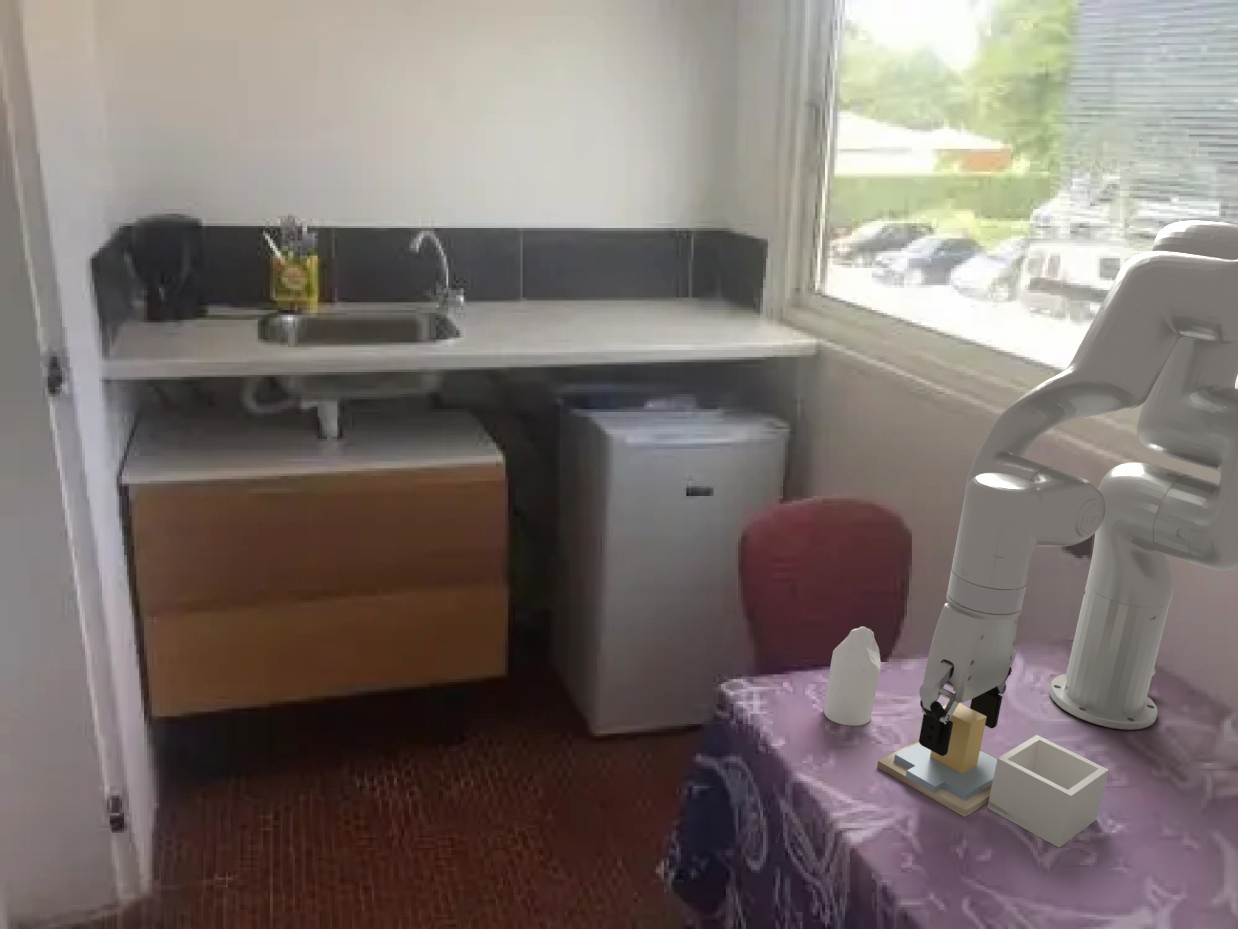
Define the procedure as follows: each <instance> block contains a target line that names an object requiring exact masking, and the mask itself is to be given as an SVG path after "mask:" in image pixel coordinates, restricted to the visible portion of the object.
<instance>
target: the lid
mask: <svg viewBox="0 0 1238 929" xmlns="http://www.w3.org/2000/svg"><path fill="white" fill-rule="evenodd" d="M946 705H947V704H944V705H942V707H943V708H944V709H945V707H946ZM986 718H987V716H985V715H983V714H981V713H978V712H976V711H974V710H972V709H970V707H968V706H966V705H965V704H963V703H959V704H958V706H957V708H956V710H955V711H954V713H953V715H952V717H951V718H950V721H952V722H953V727H952V732H951V737H950V742H949V748H948V753H947V754H946V755H944V756H941V755H939V754H937V753H935V752H933V751H931V750H929V749H928V748H926V747H924V746H922V745H920V743H919V742H918V743H916V744H914V745H912V746H910V747H908V748H906V749H904V750H902V751H900V752H898V753H896V754H895V757H894V761H896V762H897V763H899V764H901V765H903V766H904V767H906V768H908V769H909V770H907V773H906V777H907V778H909V779H910V780H912V781H914V782H916V783H917V784H919V785H921V786H922V787H924V788H926V789H928V790H929V791H931V792H933V793H936V792H937V791H939V790H941V789H945V790H947V791H949V792H950V793H952V794H954V795H956V796H957V797H959V798H961V799H963V800H964V801H966V800H967V799H969V798H971V797H973V796H974V795H976V794H978V793H979V792H981V791H983V790H984V789H986V788H988V787H989V786H991V785H992V783H993V778H994V773H995V768H996V763H997V759H995V758H994V757H995V756H994V757H992V756H993V755H992V756H990V755H991V754H990V755H988V754H989V753H988V754H986V753H987V752H986V753H984V752H985V751H984V752H982V751H983V750H982V751H980V750H981V747H982V742H983V737H984V732H985V727H986V726H985V723H986Z"/></svg>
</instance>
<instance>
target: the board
mask: <svg viewBox="0 0 1238 929" xmlns="http://www.w3.org/2000/svg"><path fill="white" fill-rule="evenodd" d="M918 742H919V739H917V740H915V741H914V742H911V743H909V744H908V745H905V746H904V747H902V748H900V749H898V750H896V751H894V752H892V753H890V754H888V755H886V756H884V757H883V758H881V759H879V760H878V761H877V765H876V767H877V768H878V769H880V770H881V771H883V772H885V773H887V774H888V775H890V776H892V777H893V778H896V779H897V780H899V781H901V782H902V783H904V784H906V785H907V786H910V787H911V788H912V789H915V790H916V791H918V792H920V793H922V794H923V795H926V796H927V797H929V798H931V799H932V800H934V801H936V802H937V803H939V804H941V805H943V806H944V807H946V808H948V809H949V810H951V811H953V812H955V813H956V814H958V815H961V816H962V817H963V818H966V817H967V816H969V815H971V814H973V813H974V812H975V811H977V810H978V809H980V808H982V807H983V806H985V805H986V804H988V802H989V797H990V792H991V788H992V785H991V786H989V787H988V788H986V789H984V790H983V791H981V792H979V793H978V794H976V795H974V796H973V797H971V798H969V799H967V800H966V801H964V800H963V799H961V798H959V797H957V796H956V795H954V794H952V793H950V792H949V791H947V790H945V789H941V790H939V791H937V792H936V793H933V792H931V791H929V790H928V789H926V788H924V787H922V786H921V785H919V784H917V783H916V782H914V781H912V780H910V779H909V778H907V777H906V773H907V770H909V769H908V768H906V767H904V766H903V765H901V764H899V763H897V762H896V761H894V757H895V754H896V753H898V752H900V751H902V750H904V749H906V748H908V747H910V746H912V745H914V744H916V743H918ZM980 751H982V752H984V753H986V754H988V755H990V756H992V757H994V758H995V759H998V758H999V757H996V756H993V755H992V754H990V753H987V752H986V751H984V750H982V749H980Z"/></svg>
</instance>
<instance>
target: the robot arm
mask: <svg viewBox="0 0 1238 929" xmlns="http://www.w3.org/2000/svg"><path fill="white" fill-rule="evenodd" d="M1077 348H1078V349H1077V351H1076V352H1075V354H1074V356H1073V358H1072V360H1071V362H1070V363H1069V365H1068V366H1066V368H1065V369H1064V370H1063V371H1061V372H1060V373H1058V374H1057V375H1054V376H1053V377H1050V378H1049V379H1047V380H1045V381H1043V382H1041V383H1040V384H1037V385H1036V386H1035V387H1033V388H1032V389H1030V390H1028V391H1027V392H1025V394H1022V395H1021V396H1020V398H1018V399H1017V400H1015V401H1014V402H1013V403H1011V404H1010V405H1008V407H1007V408H1006V409H1004V410H1003V411H1002V413H1000V415H999V416H998V417H997V418H996V420H995V421H994V422H993V424H992V426H991V428H990V429H989V430H988V432H987V434H986V436H985V439H984V441H983V442H982V444H981V446H980V448H979V449H978V451H977V452H976V455H975V457H974V459H973V461H972V464H971V467H970V468H969V471H968V474H967V478H966V481H965V493H964V497H963V503H962V510H961V515H960V519H959V526H958V530H957V537H956V543H955V548H954V553H953V559H952V565H951V570H950V575H949V580H948V587H947V592H946V601H947V602H946V603H944V605H943V607H942V610H941V613H940V615H939V616H938V617H939V618H938V620H937V623H936V627H935V630H934V633H933V637H932V641H931V644H930V648H929V653H928V657H927V660H926V664H925V665H926V666H925V669H924V670H925V671H924V675H923V683H922V684H921V685H920V687H919V690H918V691H919V697H920V700H919V701H920V703H919V705H920V707H921V713H923V716H922V721H921V727H920V733H919V736H918V737H919V739H918V740H919V743H920V745H922V746H924V747H926V748H928V749H929V750H931V751H933V752H935V753H937V754H939V755H941V756H944V755H946V754H947V753H948V748H949V742H950V737H951V732H952V727H953V722H952V721H950V718H951V717H952V715H953V713H954V711H955V710H956V708H957V706H958V704H959V703H960V704H962V703H964V702H965V703H966V702H968V701H970V707H969V708H970V709H972V710H974V711H976V712H978V713H981V714H983V715H985V716H987V718H986V723H985V727H987V728H989V729H994V728H997V726H998V720H999V715H1000V711H1001V707H1002V701H1003V697H1004V696H1003V695H1004V694H1005V693H1006V690H1007V684H1006V682H1007V681H1008V678H1009V676H1010V675H1011V674H1012V671H1013V670H1012V665H1013V663H1014V660H1015V659H1016V657H1017V654H1018V649H1017V648H1016V647H1015V644H1016V636H1017V628H1018V617H1019V616H1020V615H1021V613H1022V608H1023V603H1024V597H1025V594H1026V588H1027V585H1028V584H1027V583H1028V579H1029V573H1030V569H1031V565H1032V564H1031V563H1032V560H1033V555H1034V550H1035V548H1037V547H1069V546H1070V547H1071V546H1075V545H1078V544H1080V543H1082V542H1085V541H1086V540H1088V539H1090V538H1091V537H1092V536H1093V535H1094V541H1093V542H1094V543H1093V550H1092V556H1091V561H1090V564H1089V571H1088V576H1087V580H1086V584H1085V587H1084V588H1085V589H1084V592H1083V598H1082V602H1081V607H1080V612H1079V616H1078V620H1077V625H1076V630H1075V633H1074V638H1073V642H1072V648H1071V651H1070V655H1069V661H1068V664H1067V665H1068V666H1067V669H1066V673H1063V674H1060V675H1058V676H1056V677H1053V679H1052V680H1051V682H1050V686H1049V690H1048V691H1049V695H1050V697H1051V699H1052V700H1053V702H1055V703H1056V705H1057V706H1059V707H1060V708H1061V709H1063V711H1065V712H1067V713H1069V714H1070V715H1072V716H1074V717H1076V718H1078V719H1081V720H1083V721H1085V722H1089V723H1090V724H1094V725H1097V726H1100V727H1101V726H1102V727H1105V728H1110V729H1117V730H1129V731H1131V730H1142V729H1146V728H1148V727H1150V726H1152V725H1153V724H1154V723H1156V720H1157V717H1158V707H1157V705H1156V704H1155V703H1154V701H1153V700H1152V698H1150V697H1149V696H1148V693H1149V690H1150V685H1151V682H1152V677H1153V676H1154V675H1156V671H1157V670H1156V667H1155V665H1156V661H1157V658H1158V654H1159V649H1160V645H1161V642H1162V637H1163V633H1164V629H1165V625H1166V622H1167V616H1168V613H1169V609H1170V605H1171V602H1172V598H1173V593H1174V587H1175V585H1174V584H1175V583H1174V582H1175V580H1174V574H1173V569H1172V566H1171V563H1170V562H1171V561H1170V559H1169V557H1168V555H1169V556H1171V557H1174V558H1176V559H1179V560H1182V561H1185V562H1188V563H1191V564H1193V565H1196V566H1200V567H1203V568H1206V569H1210V570H1212V571H1218V572H1225V571H1227V572H1228V571H1232V570H1234V569H1236V568H1238V388H1236V381H1237V378H1238V224H1236V223H1229V222H1228V223H1227V222H1220V221H1208V220H1183V221H1178V222H1177V221H1176V222H1173V223H1170V224H1168V225H1166V226H1165V227H1164V228H1163V229H1161V230H1160V231H1159V232H1158V234H1157V235H1156V237H1155V240H1154V243H1153V246H1152V251H1146V252H1145V251H1144V252H1141V253H1139V254H1136V255H1134V256H1132V257H1131V258H1130V259H1128V260H1127V261H1126V262H1125V263H1124V264H1123V266H1121V268H1120V270H1119V271H1118V273H1117V275H1116V276H1115V278H1114V280H1113V283H1112V284H1111V286H1110V288H1109V290H1108V291H1107V294H1106V295H1105V297H1104V299H1103V301H1102V303H1101V305H1100V307H1099V309H1098V311H1097V313H1096V315H1095V317H1094V318H1093V320H1092V322H1091V324H1090V325H1089V327H1088V329H1087V332H1086V333H1085V335H1084V337H1083V339H1082V341H1081V342H1080V345H1079V346H1078V347H1077ZM1140 406H1141V409H1140V412H1139V415H1138V420H1137V426H1136V434H1137V435H1136V436H1137V439H1138V440H1139V442H1140V443H1141V444H1142V445H1143V446H1144V447H1145V448H1146V449H1149V450H1150V451H1153V452H1155V453H1157V454H1160V455H1162V456H1165V457H1168V458H1172V459H1175V460H1179V461H1181V462H1186V463H1189V464H1192V465H1196V466H1200V467H1203V468H1207V469H1209V470H1212V471H1213V470H1214V471H1217V472H1219V474H1220V480H1219V483H1216V482H1213V481H1209V480H1206V479H1203V478H1200V477H1199V478H1198V477H1195V476H1193V475H1191V474H1187V473H1184V472H1181V471H1177V470H1173V469H1170V468H1166V467H1162V466H1159V465H1156V464H1152V463H1145V462H1138V461H1136V462H1135V461H1134V462H1133V461H1131V462H1125V463H1121V464H1118V465H1116V466H1115V467H1113V468H1111V469H1110V470H1108V471H1107V473H1106V474H1105V475H1104V476H1103V478H1102V480H1101V481H1100V484H1099V486H1097V485H1096V484H1094V483H1093V482H1092V481H1090V480H1089V479H1086V478H1084V477H1082V476H1079V475H1076V474H1074V473H1070V472H1067V471H1064V470H1060V469H1057V468H1054V467H1053V466H1049V465H1048V464H1047V465H1046V464H1044V463H1040V462H1038V461H1037V462H1036V461H1034V460H1030V459H1028V458H1024V457H1025V455H1026V453H1027V452H1028V450H1029V449H1030V448H1031V447H1032V446H1033V444H1034V443H1035V442H1036V441H1037V440H1038V439H1039V438H1040V437H1041V436H1042V435H1043V434H1045V433H1047V432H1048V431H1050V430H1051V429H1053V428H1055V427H1057V426H1059V425H1062V424H1065V423H1068V422H1071V421H1074V420H1075V421H1076V420H1078V419H1082V418H1084V419H1085V418H1089V417H1094V416H1099V415H1105V414H1106V415H1107V414H1111V413H1118V412H1124V411H1130V410H1133V409H1135V408H1137V407H1140ZM945 685H946V686H947V687H949V688H952V691H953V692H952V691H949V690H948V689H945ZM954 692H955V693H954ZM941 696H942V697H943V698H945V699H948V702H947V704H945V705H946V707H945V709H944V708H943V707H942V706H943V705H942V703H940V702H939V701H938V700H939V698H940V697H941Z"/></svg>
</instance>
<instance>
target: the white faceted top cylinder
mask: <svg viewBox="0 0 1238 929" xmlns="http://www.w3.org/2000/svg"><path fill="white" fill-rule="evenodd" d="M881 663H882V662H881V655H880V648H879V645H878V644H877V641H876V639H875V633H874V631H872V629H871V628H867V627H866V626H860V627H858V628H853V629H851V630H850V632H849V633H848V635H847V636H846V637H845V638H844V640H843V641H841V642H840V644H838V645H837V646H836V647H835V648H834V649H833V651H832V657H831V661H830V666H829V668H830V669H829V673H828V674H829V675H828V680H827V687H826V694H825V700H824V705H823V713H824V715H825V717H826V718H827V719H828V720H830V721H831V722H833V723H836V724H840V725H844V726H854V727H856V726H860V727H861V726H863V725H867V724H868V723H869V722H870V721H871V720H872V719H871V718H872V713H873V708H874V704H875V697H876V692H877V688H878V682H879V678H880V673H881V668H882V667H881V665H882V664H881Z"/></svg>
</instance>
